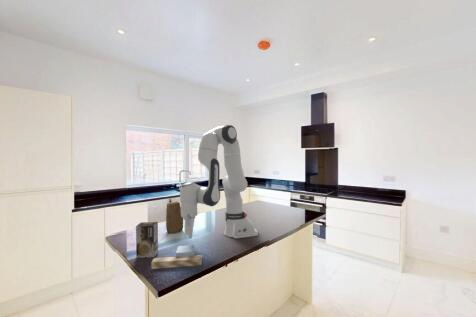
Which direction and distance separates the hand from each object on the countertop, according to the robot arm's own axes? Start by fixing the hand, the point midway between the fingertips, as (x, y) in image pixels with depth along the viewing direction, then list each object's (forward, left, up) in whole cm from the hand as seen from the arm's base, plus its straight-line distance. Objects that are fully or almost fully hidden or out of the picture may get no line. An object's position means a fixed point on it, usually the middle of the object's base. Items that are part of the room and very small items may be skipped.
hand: (190, 237), depth 114 cm
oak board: (+4, +17, -6) cm, 18 cm away
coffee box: (+21, +4, -7) cm, 23 cm away
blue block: (+2, +10, -7) cm, 13 cm away
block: (+13, -31, -7) cm, 35 cm away
